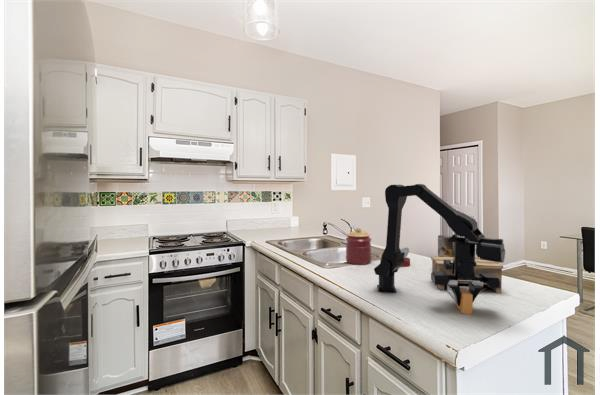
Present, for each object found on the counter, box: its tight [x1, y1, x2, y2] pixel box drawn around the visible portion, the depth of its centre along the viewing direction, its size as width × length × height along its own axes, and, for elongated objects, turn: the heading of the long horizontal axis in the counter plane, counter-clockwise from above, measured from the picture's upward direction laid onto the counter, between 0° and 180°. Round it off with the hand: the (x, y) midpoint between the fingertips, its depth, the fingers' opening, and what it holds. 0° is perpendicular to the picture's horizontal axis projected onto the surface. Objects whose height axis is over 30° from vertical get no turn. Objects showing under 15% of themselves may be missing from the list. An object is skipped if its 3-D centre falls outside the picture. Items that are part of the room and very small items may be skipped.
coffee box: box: [437, 234, 455, 257], centre depth 135 cm, size 9×6×16 cm
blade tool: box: [446, 285, 474, 315], centre depth 101 cm, size 19×9×6 cm, turn 169°
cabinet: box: [430, 256, 504, 294], centre depth 116 cm, size 12×22×10 cm, turn 80°
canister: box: [345, 227, 372, 266], centre depth 154 cm, size 13×13×18 cm
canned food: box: [400, 247, 411, 268], centre depth 149 cm, size 11×10×10 cm
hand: (463, 305), depth 95 cm, fingers closed on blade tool, 3 cm apart
